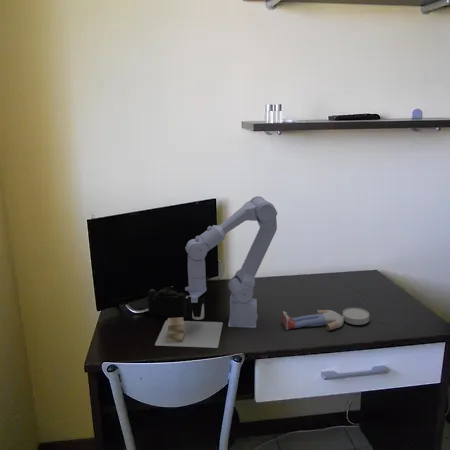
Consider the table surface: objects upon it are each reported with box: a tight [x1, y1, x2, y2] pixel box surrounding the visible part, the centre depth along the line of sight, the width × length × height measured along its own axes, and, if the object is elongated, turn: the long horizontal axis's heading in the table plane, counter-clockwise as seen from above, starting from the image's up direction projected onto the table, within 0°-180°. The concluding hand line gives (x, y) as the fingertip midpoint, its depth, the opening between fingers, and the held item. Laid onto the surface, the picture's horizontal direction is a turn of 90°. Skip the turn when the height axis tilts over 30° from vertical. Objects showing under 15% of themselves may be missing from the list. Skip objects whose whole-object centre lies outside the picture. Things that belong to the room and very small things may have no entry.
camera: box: [147, 288, 187, 319], centre depth 175 cm, size 14×11×10 cm
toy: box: [281, 307, 370, 331], centre depth 167 cm, size 6×13×30 cm
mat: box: [154, 319, 224, 349], centre depth 160 cm, size 20×17×1 cm
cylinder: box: [191, 304, 205, 321], centre depth 163 cm, size 4×4×4 cm
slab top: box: [167, 317, 185, 334], centre depth 156 cm, size 5×5×3 cm
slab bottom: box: [167, 326, 185, 342], centre depth 157 cm, size 5×5×3 cm
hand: (198, 313), depth 163 cm, fingers closed on cylinder, 4 cm apart
